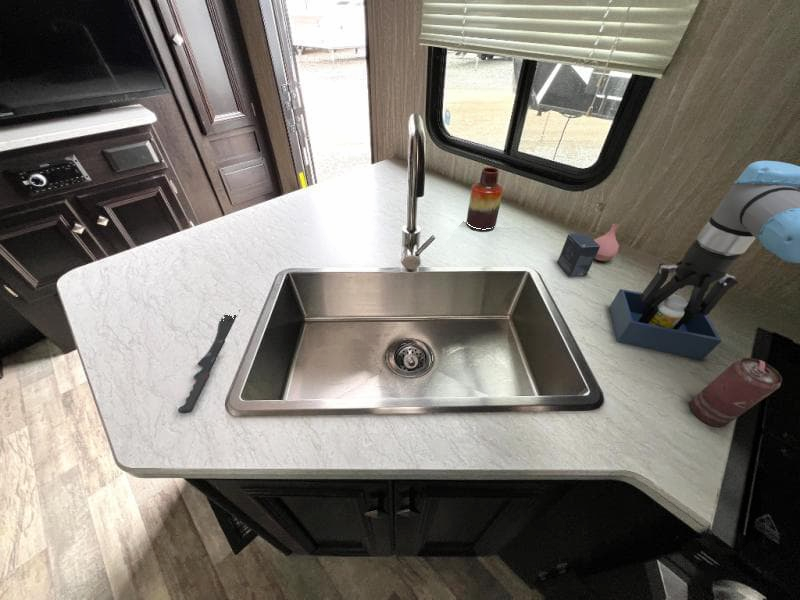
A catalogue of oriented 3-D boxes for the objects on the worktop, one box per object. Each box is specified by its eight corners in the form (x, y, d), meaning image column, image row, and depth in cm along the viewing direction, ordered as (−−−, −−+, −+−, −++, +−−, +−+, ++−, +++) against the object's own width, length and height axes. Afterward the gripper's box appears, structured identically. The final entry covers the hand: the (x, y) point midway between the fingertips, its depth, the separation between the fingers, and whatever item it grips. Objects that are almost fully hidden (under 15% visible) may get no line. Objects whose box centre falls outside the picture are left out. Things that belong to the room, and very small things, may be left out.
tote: (684, 322, 81) (701, 303, 77) (702, 360, 72) (722, 340, 68) (608, 307, 85) (620, 288, 81) (616, 341, 76) (630, 322, 72)
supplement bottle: (672, 332, 77) (697, 303, 70) (658, 340, 75) (683, 310, 68) (650, 318, 80) (672, 289, 74) (637, 325, 78) (658, 296, 72)
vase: (483, 235, 114) (494, 178, 100) (460, 224, 120) (467, 169, 106) (501, 225, 119) (513, 170, 106) (477, 215, 125) (487, 161, 112)
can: (725, 407, 63) (781, 364, 54) (728, 433, 59) (789, 392, 50) (688, 392, 66) (735, 349, 56) (689, 416, 62) (740, 374, 52)
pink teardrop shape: (612, 255, 104) (630, 222, 96) (612, 267, 99) (630, 233, 91) (586, 249, 106) (601, 216, 98) (585, 261, 101) (600, 227, 93)
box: (586, 276, 96) (601, 246, 88) (568, 277, 95) (582, 247, 88) (573, 261, 101) (586, 231, 94) (556, 262, 101) (568, 232, 94)
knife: (229, 303, 86) (229, 302, 86) (245, 303, 87) (244, 301, 86) (170, 412, 62) (168, 411, 62) (191, 412, 63) (190, 410, 62)
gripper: (766, 244, 63) (694, 326, 78) (659, 229, 67) (611, 309, 82) (787, 265, 57) (705, 348, 73) (669, 248, 62) (616, 330, 77)
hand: (655, 327), depth 77 cm, fingers open, 5 cm apart
